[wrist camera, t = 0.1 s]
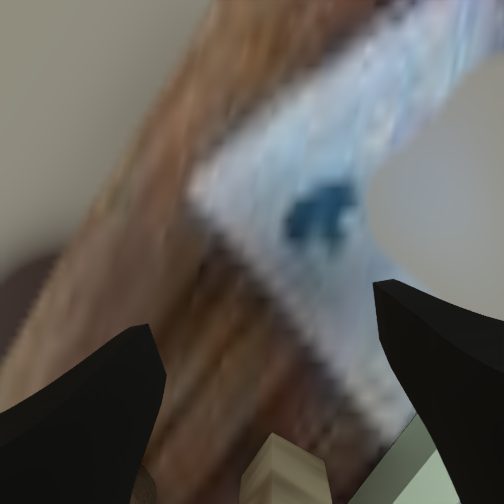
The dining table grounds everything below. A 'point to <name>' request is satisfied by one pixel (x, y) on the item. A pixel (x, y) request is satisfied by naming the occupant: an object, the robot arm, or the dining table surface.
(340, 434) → the dining table surface
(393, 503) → the hole plate
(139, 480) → the round peg
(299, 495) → the square peg
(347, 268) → the dining table surface
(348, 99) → the dining table surface
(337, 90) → the dining table surface
